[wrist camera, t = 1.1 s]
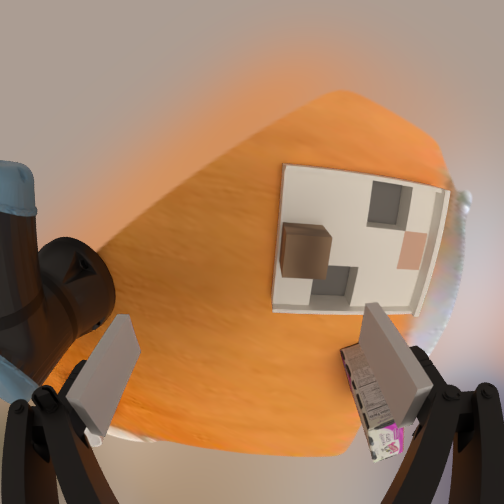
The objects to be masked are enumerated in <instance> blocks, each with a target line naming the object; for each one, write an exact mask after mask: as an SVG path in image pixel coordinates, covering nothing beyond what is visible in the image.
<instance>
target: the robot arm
mask: <svg viewBox="0 0 504 504" xmlns="http://www.w3.org/2000/svg"><path fill="white" fill-rule="evenodd" d="M36 215H37V208H36V207H35V194H34V177H33V174H32V172H31V170H30V169H29V168H28V167H27V166H26V165H24V164H21V163H18V162H11V161H3V160H0V398H1V399H3V400H5V401H6V402H8V403H10V404H11V405H10V407H9V411H8V417H7V423H6V431H5V438H4V447H3V459H2V480H1V481H2V483H1V485H2V487H1V493H2V494H1V495H2V504H59V500H58V491H57V482H56V476H57V479H58V481H59V484H60V487H61V490H62V493H63V495H64V498H65V500H66V503H67V504H119V503H118V501H117V499H116V497H115V496H114V494H113V492H112V490H111V488H110V487H109V484H108V482H107V480H106V479H105V476H104V475H103V472H102V470H101V468H100V466H99V464H98V462H97V459H96V457H95V455H94V453H93V450H92V448H91V446H90V443H89V441H88V438H87V436H86V434H85V433H84V431H85V429H86V427H87V429H88V430H89V431H90V432H91V434H94V435H98V436H102V437H105V435H106V433H107V430H108V428H109V425H110V423H111V420H112V418H113V415H114V413H115V410H116V408H117V406H118V403H119V401H120V398H121V396H122V394H123V391H124V389H125V387H126V384H127V382H128V380H129V377H130V375H131V373H132V371H133V368H134V366H135V364H136V362H137V359H138V357H139V355H140V353H141V350H140V347H139V344H138V341H137V338H136V335H135V332H134V329H133V326H132V323H131V319H130V316H129V314H117V316H116V317H115V319H114V320H113V322H112V323H111V324H110V326H109V327H108V329H107V330H106V332H105V334H104V335H103V337H102V338H101V340H100V341H99V343H98V344H97V346H96V347H95V349H94V350H93V352H92V354H91V355H90V357H89V358H88V360H82V361H81V362H79V363H78V364H77V365H76V366H75V367H74V369H73V371H72V372H71V374H70V375H69V377H68V379H67V380H66V382H65V383H64V385H63V387H62V388H61V390H60V391H59V393H58V395H57V393H56V392H55V390H54V389H53V387H51V386H49V385H43V386H42V384H43V383H44V381H45V380H46V378H47V377H48V376H49V374H50V373H51V371H52V370H53V369H54V367H55V366H56V364H57V363H58V362H59V360H60V359H61V358H62V356H63V355H64V354H65V352H66V351H67V350H68V348H69V347H70V346H71V344H72V343H73V342H74V341H75V339H77V338H79V337H81V336H83V335H85V334H87V333H89V332H91V331H93V330H95V329H97V328H98V327H100V326H101V325H102V324H103V323H104V322H105V321H106V319H107V318H108V317H109V316H110V314H111V312H112V310H113V308H114V303H115V290H114V285H113V281H112V278H111V275H110V273H109V271H108V269H107V267H106V265H105V264H104V262H103V261H102V259H101V258H100V257H99V256H98V254H97V253H96V252H95V251H94V250H93V249H91V248H90V247H89V246H88V245H86V244H85V243H83V242H81V241H79V240H77V239H74V238H70V237H60V238H57V239H55V240H53V241H51V242H49V243H48V244H46V245H45V246H43V248H41V250H40V251H39V252H38V246H37V234H36ZM359 344H360V347H361V349H362V351H363V353H364V355H365V357H366V359H367V361H368V363H369V365H370V367H371V370H372V372H373V374H374V376H375V378H376V380H377V382H378V385H379V387H380V389H381V391H382V394H383V396H384V398H385V400H386V402H387V405H388V407H389V409H390V412H391V414H392V416H393V419H394V421H395V423H396V426H397V428H398V429H399V428H403V427H406V426H409V425H412V424H413V422H414V421H415V419H416V417H417V418H418V420H419V425H418V426H417V428H416V430H415V431H414V433H413V435H412V436H413V439H412V441H411V444H410V446H409V448H408V451H407V453H406V455H405V457H404V460H403V462H402V464H401V466H400V468H399V471H398V472H397V474H396V476H395V478H394V480H393V482H392V484H391V486H390V488H389V489H388V491H387V493H386V495H385V497H384V499H383V500H382V502H381V504H431V502H432V499H433V497H434V495H435V492H436V490H437V487H438V485H439V482H440V479H441V477H442V474H443V471H444V468H445V465H446V462H447V459H448V456H449V453H450V449H451V446H452V442H453V465H452V477H451V489H450V496H449V503H448V504H504V421H503V415H502V409H501V403H500V398H499V393H498V390H497V388H496V387H495V386H494V385H492V384H490V383H481V384H479V385H478V387H477V388H476V390H475V391H467V392H461V391H460V389H458V388H457V387H456V386H453V385H447V384H446V382H445V381H444V379H443V378H442V376H441V375H440V373H439V372H438V370H437V369H436V367H435V366H434V365H433V363H432V361H431V360H429V357H428V356H427V354H426V353H425V351H423V350H422V349H421V348H419V347H418V346H413V347H409V346H408V345H407V343H406V342H405V340H404V339H403V337H402V336H401V334H400V333H399V332H398V330H397V329H396V327H395V326H394V324H393V323H392V321H391V320H390V319H389V317H388V316H387V314H386V313H385V312H384V310H383V309H382V307H381V306H380V305H379V303H378V302H373V303H365V308H364V315H363V321H362V326H361V332H360V337H359ZM30 399H32V401H33V402H34V404H35V405H36V406H30V405H29V404H28V402H29V400H30Z"/></svg>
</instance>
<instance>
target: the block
mask: <svg viewBox="0 0 504 504" xmlns="http://www.w3.org/2000/svg"><path fill="white" fill-rule="evenodd" d="M331 244H332V236H331V235H330V234H329V232H328V231H327V230H326V229H325V227H324V226H323V225H315V224H302V223H288V222H283V225H282V236H281V246H280V256H279V263H280V269H281V275H282V278H300V279H320V280H326V275H327V269H328V263H329V257H330V251H331Z"/></svg>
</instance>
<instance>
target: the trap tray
mask: <svg viewBox="0 0 504 504" xmlns="http://www.w3.org/2000/svg"><path fill="white" fill-rule="evenodd" d="M449 197H450V191H448V190H445V189H442V188H439V187H436V186H432V185H429V184H424V183H419V182H414V181H409V180H404V179H399V178H393V177H387V176H382V175H375V174H369V173H363V172H356V171H349V170H341V169H334V168H325V167H317V166H307V165H297V164H286V163H283V167H282V180H281V193H280V205H279V217H278V229H277V240H276V251H275V262H274V272H273V283H272V293H271V299H272V312H274V313H298V314H339V315H364V308H365V303H373V302H378V303H379V305H380V306H381V307H382V309H383V310H384V312H385V313H386V314H412V315H413V317H419V314H420V311H421V308H422V305H423V302H424V299H425V296H426V293H427V290H428V287H429V283H430V280H431V277H432V273H433V270H434V266H435V263H436V259H437V255H438V251H439V247H440V243H441V238H442V234H443V229H444V224H445V219H446V214H447V209H448V203H449ZM283 222H288V223H302V224H315V225H323V226H324V227H325V229H326V230H327V231H328V232H329V234H330V235H331V236H332V244H331V251H330V257H329V263H328V269H327V275H326V280H320V279H300V278H282V275H281V269H280V263H279V256H280V246H281V236H282V225H283Z"/></svg>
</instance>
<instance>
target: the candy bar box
mask: <svg viewBox="0 0 504 504" xmlns="http://www.w3.org/2000/svg"><path fill="white" fill-rule="evenodd" d="M340 352H341V356H342V360H343V363H344V367H345V371H346V374H347V378H348V382H349V385H350V389H351V392H352V395H353V398H354V401H355V404H356V407H357V410H358V413H359V416H360V419H361V423H362V426H363V428H364V432H365V435H366V439H367V442H368V445H369V448H370V452H371V456H372V459H373V463H375V462H378V461H381V460H383V459H387V458H389V457H392V456H393V455H397V454H399V453H401V452H403V447H404V446H403V445H404V444H403V443H404V427H403V428H399V429H398V428H397V426H396V423H395V421H394V419H393V416H392V414H391V412H390V409H389V407H388V405H387V402H386V400H385V398H384V396H383V394H382V391H381V389H380V387H379V385H378V382H377V380H376V378H375V376H374V374H373V372H372V370H371V367H370V365H369V363H368V361H367V359H366V357H365V355H364V353H363V351H362V349H361V347H360V344H359V343H357V344H355V345H352V346H349V347H346V348H344V349H341V350H340Z"/></svg>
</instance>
